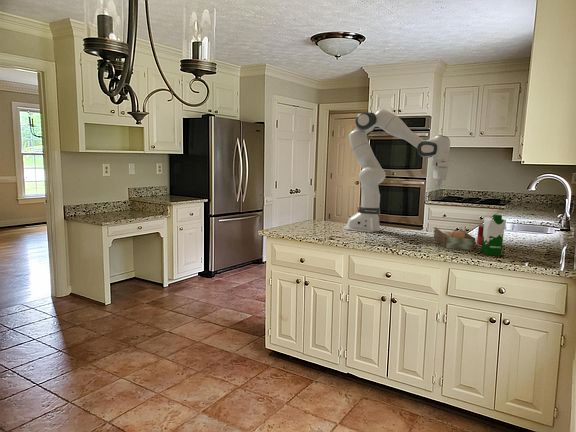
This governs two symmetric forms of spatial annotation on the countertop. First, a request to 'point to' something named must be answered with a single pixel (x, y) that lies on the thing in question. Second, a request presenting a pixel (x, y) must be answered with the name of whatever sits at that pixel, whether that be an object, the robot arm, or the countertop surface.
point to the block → (458, 234)
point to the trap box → (454, 240)
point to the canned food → (480, 234)
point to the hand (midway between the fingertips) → (438, 187)
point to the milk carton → (493, 235)
